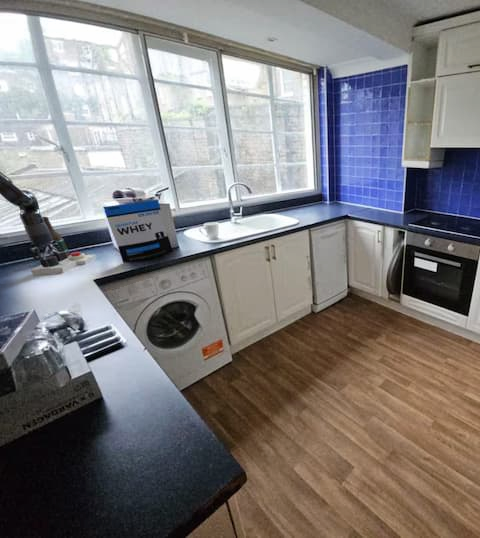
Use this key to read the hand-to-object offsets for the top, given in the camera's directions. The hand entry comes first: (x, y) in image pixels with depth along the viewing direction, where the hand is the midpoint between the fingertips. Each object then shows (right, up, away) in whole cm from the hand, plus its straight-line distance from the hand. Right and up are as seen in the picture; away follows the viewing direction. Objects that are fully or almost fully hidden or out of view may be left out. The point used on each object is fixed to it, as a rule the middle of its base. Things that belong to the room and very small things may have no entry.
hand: (52, 263), depth 148 cm
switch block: (+2, +1, +12) cm, 12 cm away
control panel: (0, -3, +2) cm, 4 cm away
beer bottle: (-13, +3, +17) cm, 21 cm away
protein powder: (+36, +4, +18) cm, 40 cm away
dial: (0, -1, 0) cm, 1 cm away
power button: (+2, +4, +11) cm, 12 cm away
